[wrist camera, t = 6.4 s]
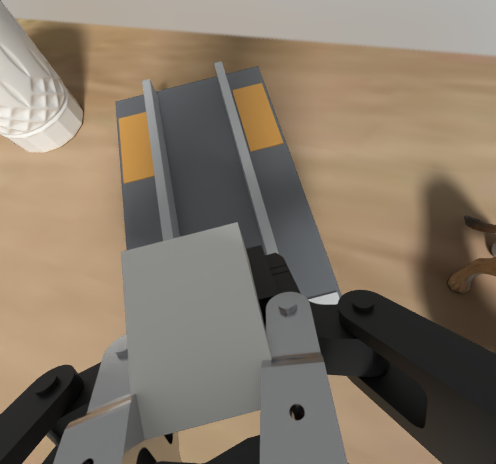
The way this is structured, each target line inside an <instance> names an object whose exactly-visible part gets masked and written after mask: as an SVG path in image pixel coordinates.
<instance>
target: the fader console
mask: <svg viewBox="0 0 496 464" xmlns="http://www.w3.org/2000/svg"><path fill="white" fill-rule="evenodd" d="M214 65H215V70H216V75H217V76H216V77H212V78H208V79H204V80H200V81H196V82H192V83H188V84H184V85H180V86H176V87H172V88H168V89H164V90H160V91H155V89H154V87H153V85H152V83H151V80H150V79H148V80H144V81H142V84H143V92H144V95H140V96H136V97H132V98H128V99H124V100H120V101H116V116H117V129H118V142H119V155H120V168H121V181H122V194H123V207H124V220H125V233H126V246H127V250H130V249H134V248H138V247H142V246H146V245H150V244H154V243H158V242H162V241H166V240H170V239H174V238H177V237H181V236H185V235H189V234H193V233H197V232H201V231H205V230H209V229H213V228H217V227H221V226H224V225H228V224H232V223H236V222H238V226H239V229H240V232H241V235H242V239H243V242H244V245H245V248H246V249H247V248H251V247H255V246H259V245H262V248H263V251H264V254H265V255H268V254H272V253H277V254H279V255H281V256H282V257H283V258H284V260H285V262H286V264H287V266H288V268H289V270H290V272H291V274H292V276H293V278H294V280H295V282H296V284H297V287H298V289H299V291H300V293H301V294H302V295H304V296H305V297H306V298H307V299H308V300H309V301H310V302H313V303H316V304H325V305H328V304H338V301H339V299H340V298H341V296H342V295H341V292H340V289H339V287H338V284H337V281H336V278H335V276H334V273H333V270H332V267H331V265H330V262H329V259H328V256H327V254H326V251H325V248H324V245H323V243H322V240H321V237H320V235H319V232H318V229H317V226H316V224H315V221H314V218H313V215H312V213H311V210H310V207H309V204H308V202H307V199H306V196H305V193H304V191H303V188H302V185H301V182H300V180H299V177H298V174H297V172H296V169H295V166H294V163H293V161H292V158H291V155H290V152H289V150H288V147H287V144H286V141H285V139H284V136H283V133H282V130H281V128H280V125H279V122H278V119H277V117H276V114H275V111H274V109H273V106H272V103H271V100H270V98H269V95H268V92H267V89H266V87H265V84H264V81H263V78H262V76H261V73H260V70H259V67H258V66H257V67H253V68H249V69H245V70H241V71H237V72H232V73H228V74H225V70H224V67H223V64H222V61H221V62H217V63H214Z"/></svg>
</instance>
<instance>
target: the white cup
mask: <svg viewBox="0 0 496 464" xmlns="http://www.w3.org/2000/svg"><path fill="white" fill-rule="evenodd" d="M82 119H83V111H82V109H81V107H80V105H79V103H78V102H77V100H76V99H75V98H74V97H73V95H72V94H71V93H70V92H69V90H68V89H67V88H66V87H65V85H64V84H63V81H62V80H61V78H60V77H59V76H58V74H57V73H56V72H55V71H54V69H53V68H52V66H51V65H50V64H49V62H48V61H47V60H46V58H45V57H44V56H43V55H42V53H41V52H40V51H39V49H38V48H37V46H36V45H35V44H34V42H33V41H32V40H31V38H30V37H29V36H28V35H27V33H26V32H25V31H24V30H23V28H22V27H21V26H20V24H19V23H18V22H17V21H16V19H15V18H14V17H13V15H12V14H11V13H10V12H9V11H8V9H7V8H6V7H5V5H4V4H3V3H2V2H1V0H0V134H1V135H2V136H4V137H5V138H7V139H8V140H10V141H11V142H13V143H14V144H16V145H18V146H19V147H21V148H23V149H24V150H26V151H28V152H38V153H45V152H48V151H51V150H54V149H57V148H60V147H62V146H63V145H64V144H66V143H67V142H68V141H69V140H71V139H72V138H73V137H74V136H75V135H76V133H77V132H78V130H79V128H80V127H81V125H82Z"/></svg>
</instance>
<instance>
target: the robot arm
mask: <svg viewBox="0 0 496 464" xmlns="http://www.w3.org/2000/svg"><path fill="white" fill-rule="evenodd" d="M246 252H247V255H248V258H249V262H250V266H251V271H252V275H253V279H254V284H255V288H256V292H257V297H258V301H259V305H260V309H261V312H262V316H263V320H264V324H265V327H266V336H267V341H268V345H269V349H270V354H271V358H272V360H263V361H262V365H261V412H260V435H258V436H254V437H251V438H247V439H246V440H244V441H242V442H241V443H239V444H237V445H236V446H234V447H232V448H230V449H229V450H227V451H225V452H224V453H222V454H220V455H219V456H217V457H215V458H214V459H212V460H210V461H208V462H206V463H203V464H349V463H347V459H346V454H345V450H344V446H343V441H342V437H341V433H340V428H339V424H338V420H337V415H336V411H335V407H334V402H333V398H332V394H331V389H330V385H329V381H328V376H327V374H328V375H343V376H347V377H348V378H349V379H350V380H351V381H352V382H353V383H354V384H355V385H356V386H357V387H358V388H359V389H361V390H362V391H363V392H364V393H365V394H366V395H367V396H368V397H369V398H370V399H372V400H373V401H374V402H375V403H376V404H377V405H378V406H379V407H380V408H382V409H383V410H384V411H385V412H386V413H387V414H388V415H389V416H390V417H391V418H393V419H394V420H395V421H396V422H397V423H398V424H399V425H400V426H401V427H403V428H404V429H405V430H406V431H407V432H408V433H409V434H410V435H411V436H412V437H414V438H415V439H416V440H417V441H418V442H419V443H420V444H421V445H422V446H423V447H425V448H426V449H427V450H428V451H429V452H430V453H431V454H432V455H433V456H435V457H436V458H437V459H438V460H439V461H440V462H441V463H442V464H496V354H494V353H493V352H491V351H489V350H487V349H485V348H483V347H481V346H479V345H477V344H475V343H473V342H471V341H469V340H467V339H465V338H463V337H461V336H459V335H457V334H455V333H453V332H452V331H450V330H448V329H446V328H444V327H442V326H440V325H438V324H436V323H434V322H432V321H430V320H428V319H426V318H424V317H422V316H420V315H418V314H416V313H414V312H412V311H410V310H409V309H407V308H405V307H403V306H401V305H399V304H397V303H395V302H393V301H391V300H389V299H387V298H385V297H383V296H381V295H379V294H377V293H375V292H372V291H367V290H354V291H350V292H347V293H345V294H344V295H343V296H341V298H340V299H339V301H338V304H328V305H325V304H316V303H313V302H310V301H309V300H308V299H307V298H306V297H305V296H304V295H302V294H301V293H300V291H299V289H298V287H297V284H296V282H295V280H294V278H293V276H292V274H291V272H290V270H289V268H288V266H287V264H286V262H285V260H284V258H283V257H282V256H281V255H279V254H277V253H272V254H268V255H265V254H264V251H263V248H262V245H259V246H255V247H251V248H247V249H246ZM45 435H47V437H48V438H49V439H50V440H51V441H52V442H53V443H54V444H55V445H56V446H55V448H54V449H53V450H52V451H51V453H50V454H49V455H48V457H47V458H46V459H45V460H44V462H43V463H42V464H197V463H183V462H182V461H181V458H180V453H179V438H178V432H174V433H170V434H166V435H162V436H159V437H155V438H151V439H147V440H145V439H144V434H143V428H142V423H141V418H140V413H139V407H138V402H137V397H136V394H134V395H131V392H130V378H129V363H128V348H127V334H125V335H123V336H121V337H120V338H118V339H117V340H115V341H114V342H113V343H112V344H111V345H110V346H109V347H108V348H107V350H106V351H105V353H104V355H103V358H102V361H101V362H100V363H99V364H97V365H95V366H93V367H91V368H89V369H87V370H85V371H83V372H81V373H79V374H78V373H77V372H76V370H75V369H74V368H73V367H72V366H71V365H62V366H58V367H56V368H54V369H52V370H50V371H48V372H46V373H45V374H43V375H42V376H41V377H39V378H38V379H37V380H36V381H35V382H33V383H32V384H31V385H30V386H29V387H28V388H27V389H26V390H25V391H24V392H23V393H22V394H21V395H20V396H19V397H18V398H17V399H16V400H15V401H14V402H13V403H12V404H11V405H10V406H9V407H8V408H7V409H6V410H5V411H4V412H3V413H2V414H0V464H22V463H23V462H24V460H25V459H26V458H27V457H28V456H29V455H30V453H31V452H32V451H33V450H34V449H35V447H36V446H37V445H38V444H39V443H40V441H41V440H42V439H43V438H44V437H45Z"/></svg>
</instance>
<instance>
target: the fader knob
mask: <svg viewBox="0 0 496 464" xmlns="http://www.w3.org/2000/svg"><path fill="white" fill-rule="evenodd" d="M121 260H122V274H123V289H124V304H125V319H126V333H127V348H128V363H129V378H130V392H131V395H134V394H136V397H137V402H138V407H139V413H140V418H141V423H142V428H143V434H144V439H145V440H147V439H151V438H155V437H159V436H162V435H166V434H170V433H174V432H178V431H181V430H185V429H189V428H193V427H197V426H200V425H204V424H208V423H212V422H216V421H220V420H223V419H227V418H231V417H235V416H239V415H242V414H246V413H250V412H254V411H258V410H261V365H262V361H263V360H272V358H271V354H270V349H269V345H268V341H267V336H266V327H265V324H264V320H263V316H262V312H261V309H260V305H259V301H258V297H257V292H256V288H255V284H254V279H253V275H252V271H251V266H250V262H249V258H248V255H247V252H246V248H245V245H244V242H243V239H242V235H241V232H240V229H239V226H238V222H236V223H232V224H228V225H224V226H221V227H217V228H213V229H209V230H205V231H201V232H197V233H193V234H189V235H185V236H181V237H177V238H174V239H170V240H166V241H162V242H158V243H154V244H150V245H146V246H142V247H138V248H134V249H130V250H127V251H123V252H121Z"/></svg>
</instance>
